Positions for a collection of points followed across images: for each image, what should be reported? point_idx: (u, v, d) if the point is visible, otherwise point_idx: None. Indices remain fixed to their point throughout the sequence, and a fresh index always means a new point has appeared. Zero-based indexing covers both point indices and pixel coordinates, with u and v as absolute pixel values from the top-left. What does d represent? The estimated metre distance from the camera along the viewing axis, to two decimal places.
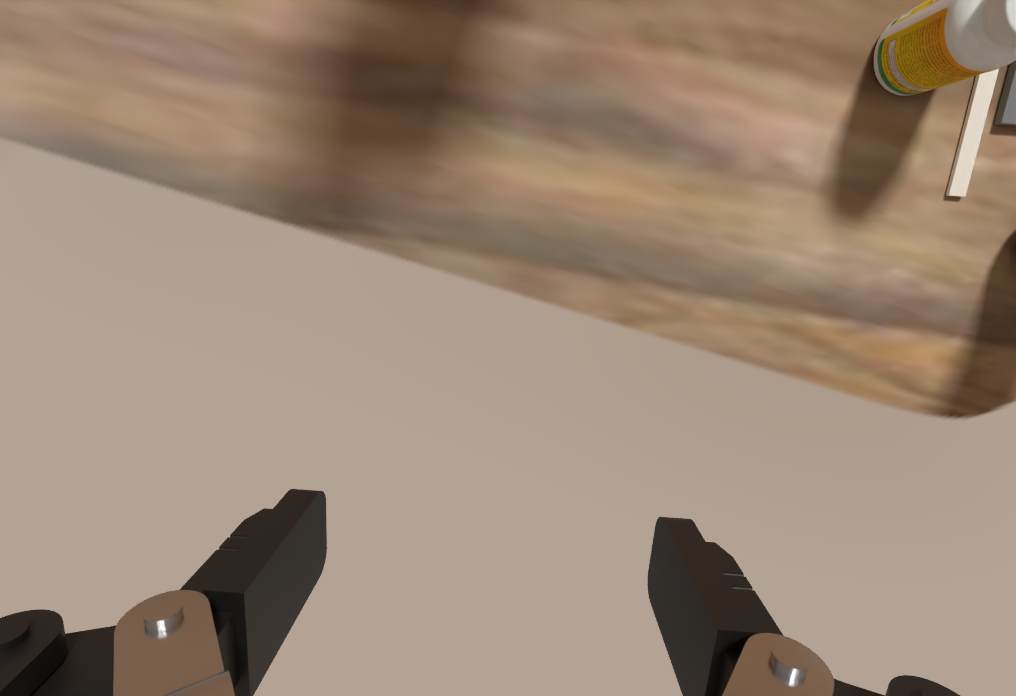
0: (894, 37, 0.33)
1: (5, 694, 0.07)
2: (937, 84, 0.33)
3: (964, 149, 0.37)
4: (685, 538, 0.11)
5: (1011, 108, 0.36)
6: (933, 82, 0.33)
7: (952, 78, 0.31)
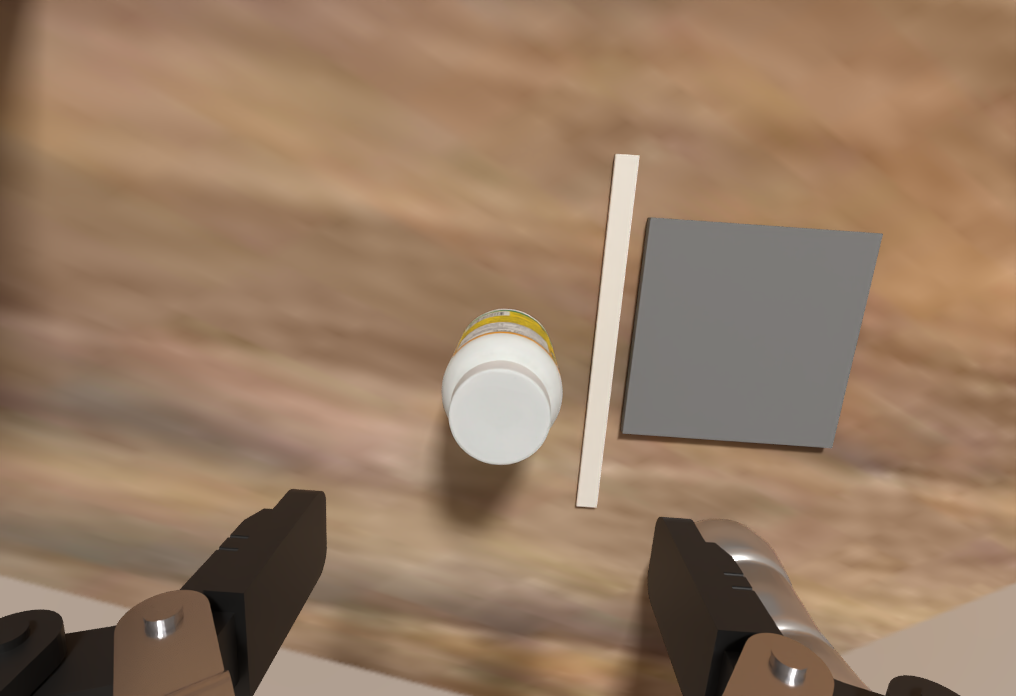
0: None
1: (5, 693, 0.07)
2: None
3: (586, 457, 0.30)
4: (685, 538, 0.11)
5: (631, 418, 0.29)
6: None
7: None
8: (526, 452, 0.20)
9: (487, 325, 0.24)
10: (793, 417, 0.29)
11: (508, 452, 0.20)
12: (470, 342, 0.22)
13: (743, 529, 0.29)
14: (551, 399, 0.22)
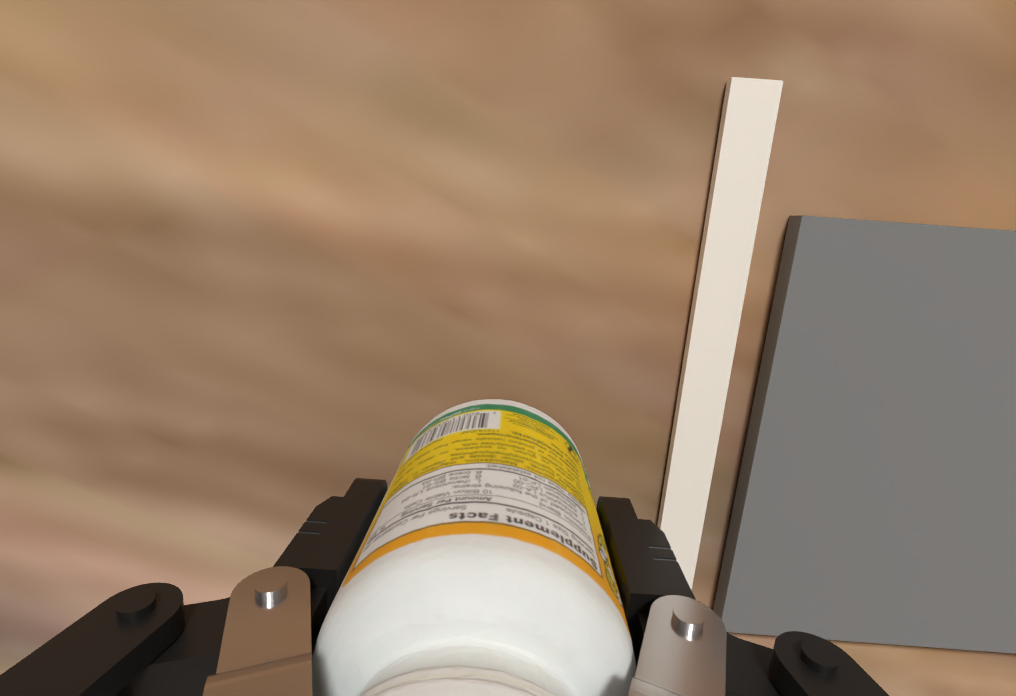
0: None
1: (126, 661, 0.07)
2: None
3: None
4: (619, 515, 0.12)
5: (738, 605, 0.15)
6: None
7: None
8: None
9: (443, 474, 0.10)
10: None
11: None
12: (384, 560, 0.08)
13: None
14: None
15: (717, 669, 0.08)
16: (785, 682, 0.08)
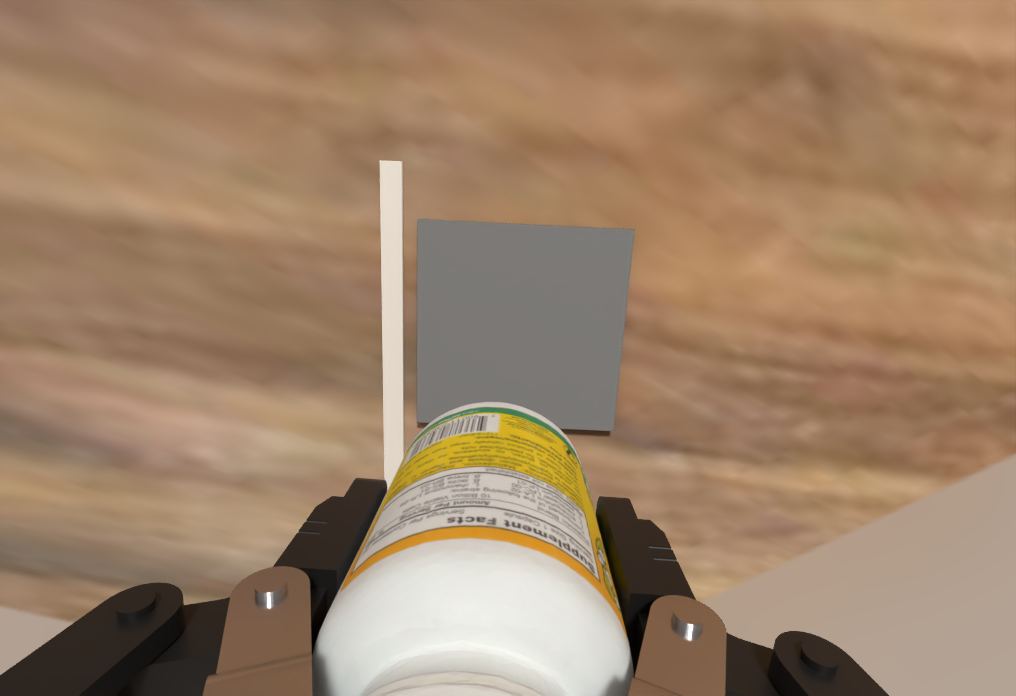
0: None
1: (126, 661, 0.07)
2: None
3: (387, 446, 0.32)
4: (619, 514, 0.12)
5: (423, 407, 0.31)
6: None
7: None
8: None
9: (442, 478, 0.10)
10: (574, 403, 0.31)
11: None
12: (382, 565, 0.08)
13: None
14: None
15: (717, 669, 0.08)
16: (785, 682, 0.08)
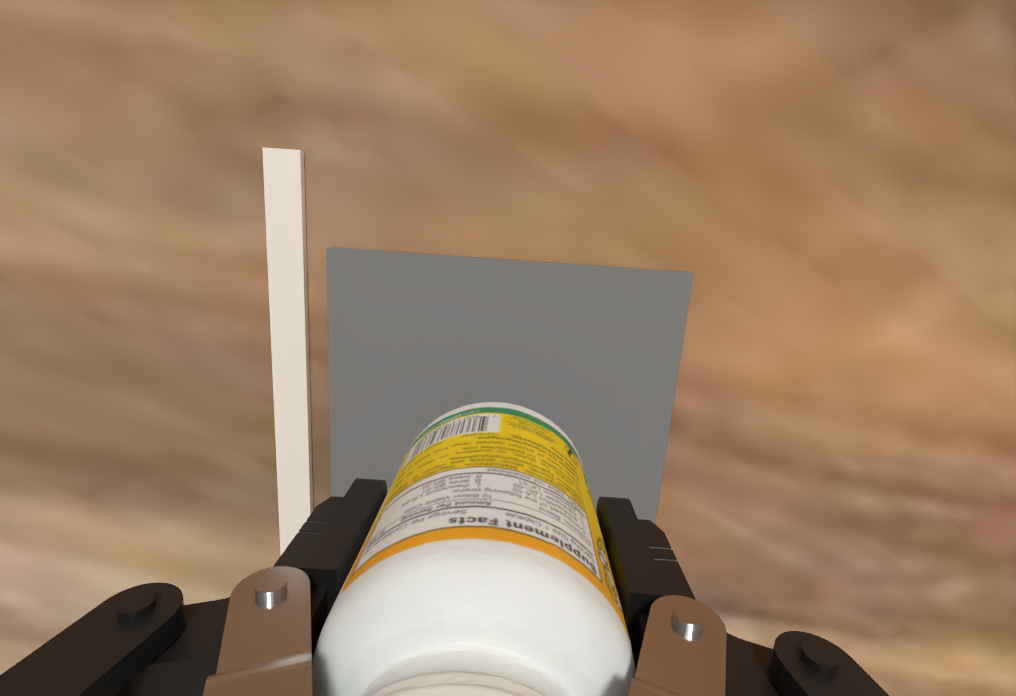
0: None
1: (126, 661, 0.07)
2: None
3: None
4: (619, 514, 0.12)
5: None
6: None
7: None
8: None
9: (443, 478, 0.10)
10: None
11: None
12: (384, 565, 0.08)
13: None
14: None
15: (717, 669, 0.08)
16: (785, 682, 0.08)
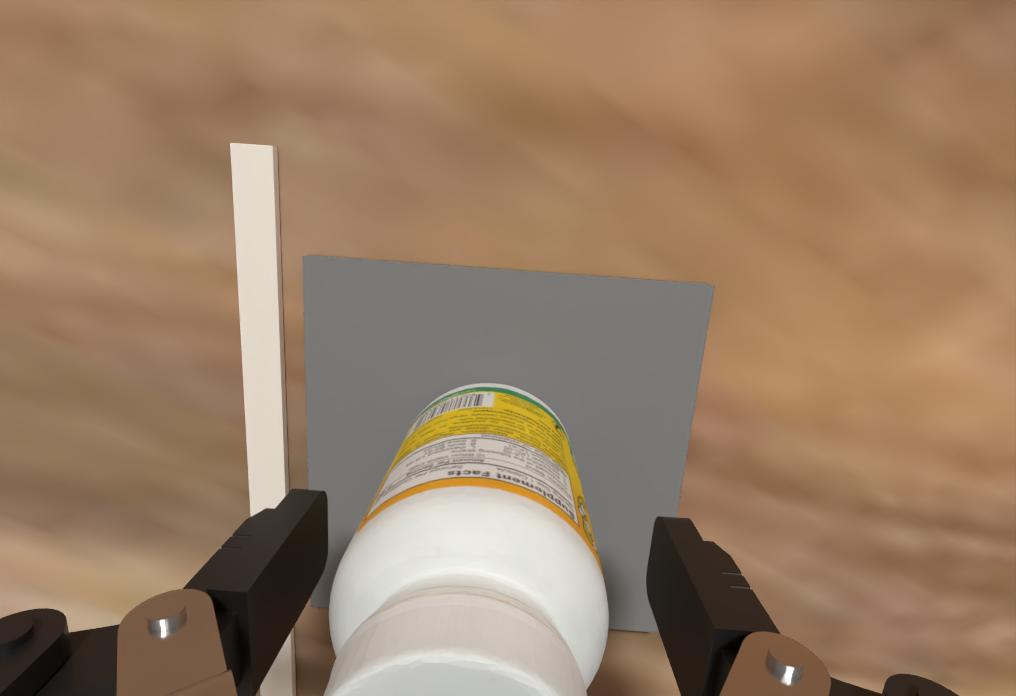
0: None
1: (8, 692, 0.07)
2: None
3: None
4: (683, 537, 0.11)
5: (322, 584, 0.17)
6: None
7: None
8: None
9: (443, 443, 0.11)
10: None
11: None
12: (392, 508, 0.09)
13: None
14: (585, 653, 0.09)
15: None
16: None
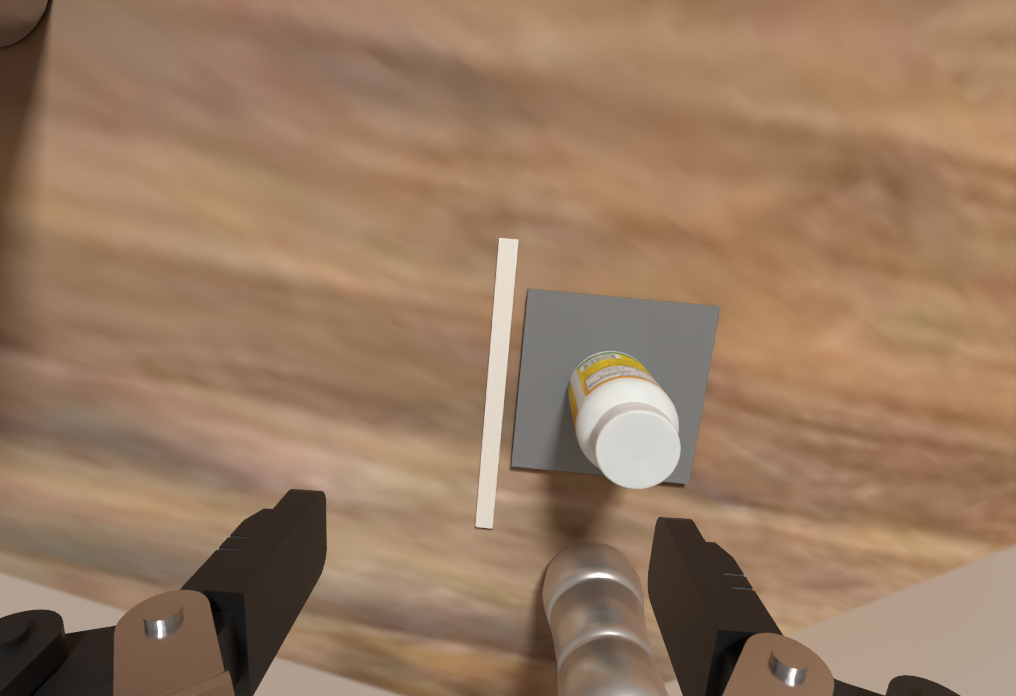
0: (571, 391, 0.31)
1: (5, 693, 0.07)
2: None
3: (482, 485, 0.35)
4: (685, 538, 0.11)
5: (518, 453, 0.34)
6: None
7: None
8: (658, 479, 0.24)
9: (609, 368, 0.28)
10: None
11: (643, 478, 0.24)
12: (603, 384, 0.26)
13: (609, 551, 0.34)
14: None
15: None
16: None
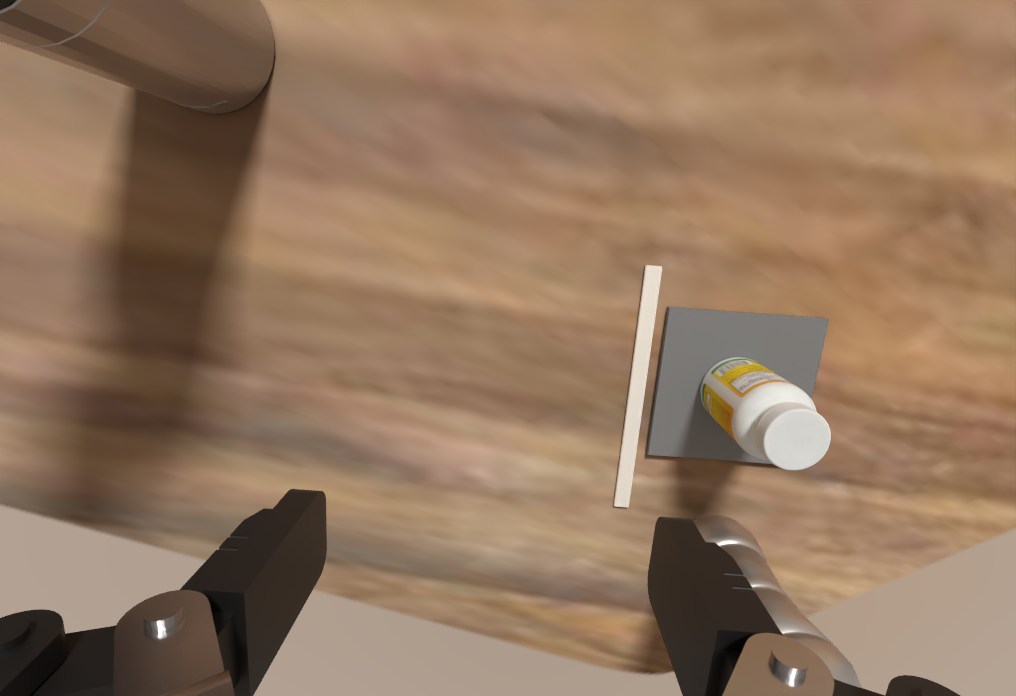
0: (709, 392, 0.38)
1: (5, 694, 0.07)
2: None
3: (621, 471, 0.42)
4: (685, 538, 0.11)
5: (654, 444, 0.41)
6: None
7: None
8: (812, 462, 0.31)
9: (752, 374, 0.35)
10: None
11: (799, 462, 0.31)
12: (757, 388, 0.33)
13: (733, 523, 0.41)
14: None
15: None
16: None
